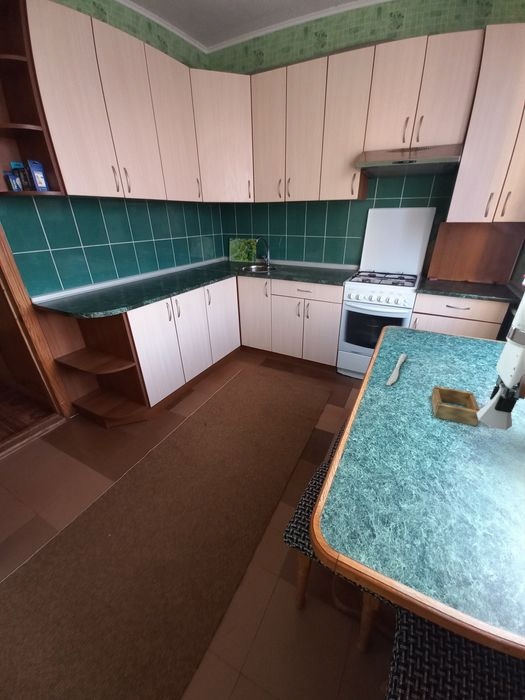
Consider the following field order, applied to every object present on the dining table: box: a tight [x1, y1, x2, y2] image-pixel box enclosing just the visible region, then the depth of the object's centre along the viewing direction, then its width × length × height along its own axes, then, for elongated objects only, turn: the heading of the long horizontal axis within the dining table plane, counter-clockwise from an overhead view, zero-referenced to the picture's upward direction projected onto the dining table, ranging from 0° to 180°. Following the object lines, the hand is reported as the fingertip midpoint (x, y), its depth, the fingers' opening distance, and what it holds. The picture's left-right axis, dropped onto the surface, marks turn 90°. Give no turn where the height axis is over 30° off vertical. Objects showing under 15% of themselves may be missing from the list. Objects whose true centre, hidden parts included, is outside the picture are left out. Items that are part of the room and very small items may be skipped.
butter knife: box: [385, 353, 408, 386], centre depth 109 cm, size 1×27×3 cm
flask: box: [476, 383, 516, 431], centre depth 69 cm, size 7×7×10 cm
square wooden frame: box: [430, 385, 481, 426], centre depth 87 cm, size 10×10×4 cm
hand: (500, 405), depth 70 cm, fingers closed on flask, 3 cm apart
